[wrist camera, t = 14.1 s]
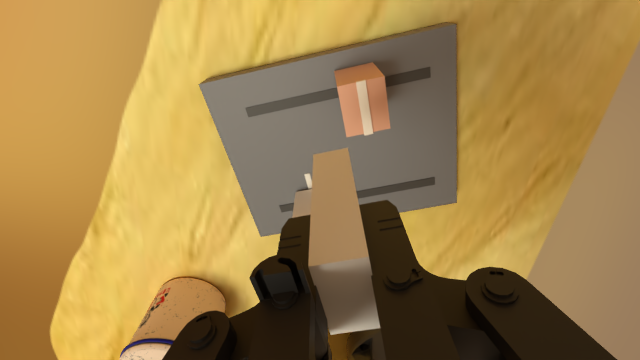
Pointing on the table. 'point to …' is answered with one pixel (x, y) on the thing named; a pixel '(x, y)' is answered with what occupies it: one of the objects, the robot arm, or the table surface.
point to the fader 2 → (362, 99)
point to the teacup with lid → (171, 316)
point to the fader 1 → (302, 203)
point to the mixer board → (328, 126)
